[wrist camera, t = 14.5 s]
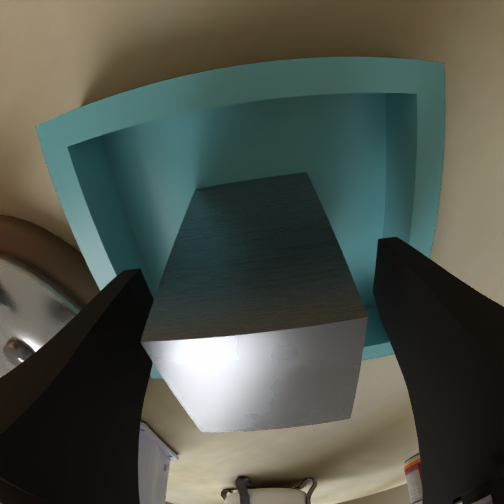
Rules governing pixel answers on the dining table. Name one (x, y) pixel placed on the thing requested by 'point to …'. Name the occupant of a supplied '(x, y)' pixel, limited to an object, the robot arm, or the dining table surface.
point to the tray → (256, 158)
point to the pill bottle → (414, 479)
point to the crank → (29, 310)
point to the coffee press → (267, 494)
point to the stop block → (258, 310)
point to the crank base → (48, 256)
